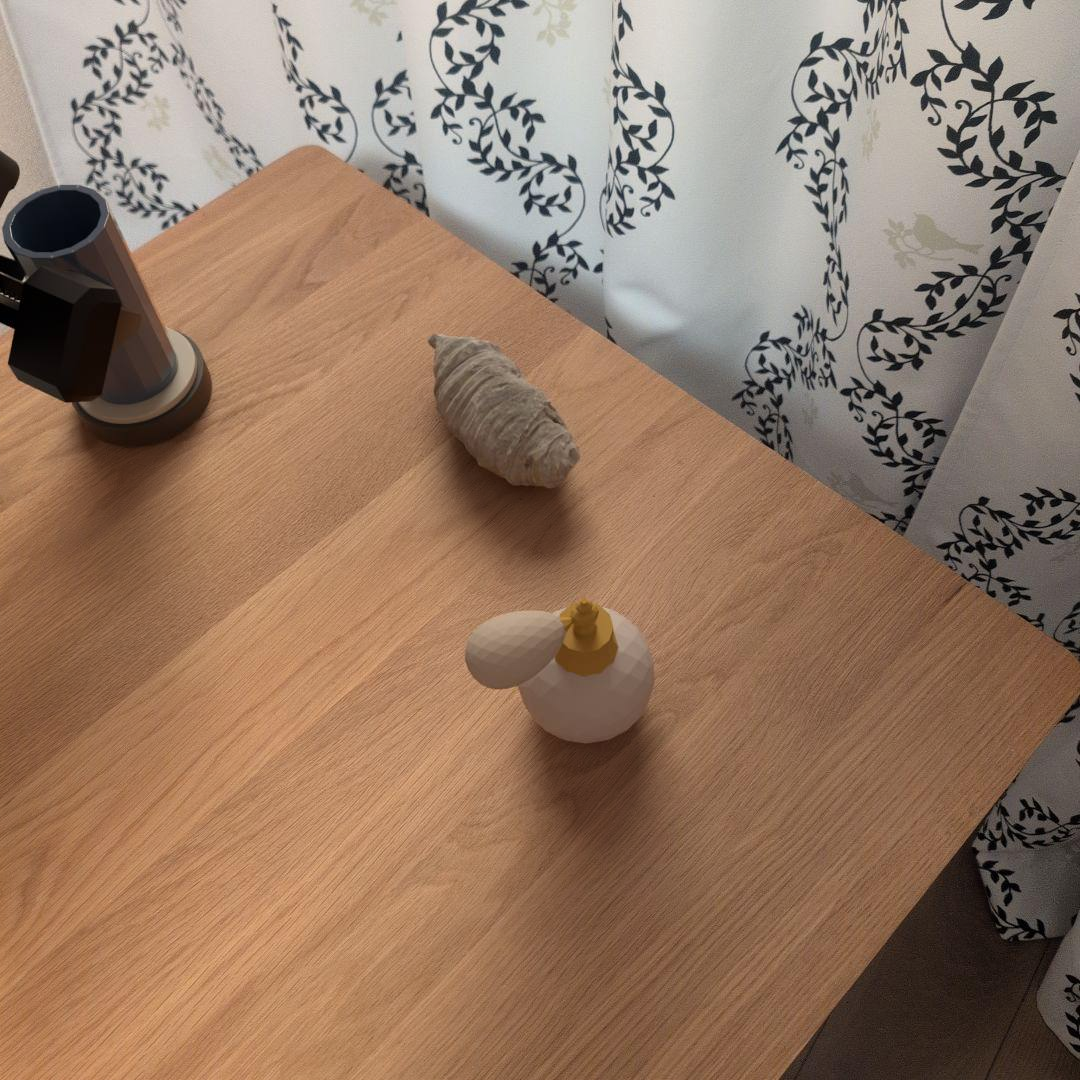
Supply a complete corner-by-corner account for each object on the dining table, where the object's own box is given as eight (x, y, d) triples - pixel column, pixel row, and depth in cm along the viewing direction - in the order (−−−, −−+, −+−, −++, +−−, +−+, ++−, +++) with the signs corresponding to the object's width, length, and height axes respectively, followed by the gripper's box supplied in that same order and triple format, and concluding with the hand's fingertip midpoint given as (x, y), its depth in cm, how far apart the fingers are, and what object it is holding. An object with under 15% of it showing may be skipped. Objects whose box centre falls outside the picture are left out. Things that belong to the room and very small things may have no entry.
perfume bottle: (678, 690, 66) (693, 586, 55) (570, 819, 62) (565, 733, 52) (576, 617, 68) (572, 505, 58) (467, 737, 65) (442, 640, 54)
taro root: (478, 312, 78) (472, 270, 70) (591, 476, 76) (598, 453, 68) (399, 363, 77) (384, 327, 69) (511, 529, 76) (509, 512, 68)
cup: (168, 405, 75) (94, 258, 64) (78, 404, 75) (-11, 258, 64) (186, 335, 78) (119, 184, 67) (100, 335, 78) (19, 184, 67)
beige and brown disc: (97, 466, 76) (82, 442, 73) (67, 372, 80) (52, 347, 78) (228, 417, 77) (217, 393, 75) (191, 328, 82) (180, 302, 80)
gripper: (17, 174, 50) (235, 213, 65) (-270, 58, 56) (-10, 117, 70) (-29, 413, 53) (189, 399, 68) (-296, 281, 59) (-42, 294, 73)
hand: (79, 296), depth 70 cm, fingers open, 9 cm apart
